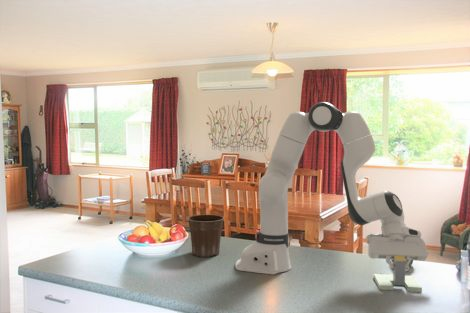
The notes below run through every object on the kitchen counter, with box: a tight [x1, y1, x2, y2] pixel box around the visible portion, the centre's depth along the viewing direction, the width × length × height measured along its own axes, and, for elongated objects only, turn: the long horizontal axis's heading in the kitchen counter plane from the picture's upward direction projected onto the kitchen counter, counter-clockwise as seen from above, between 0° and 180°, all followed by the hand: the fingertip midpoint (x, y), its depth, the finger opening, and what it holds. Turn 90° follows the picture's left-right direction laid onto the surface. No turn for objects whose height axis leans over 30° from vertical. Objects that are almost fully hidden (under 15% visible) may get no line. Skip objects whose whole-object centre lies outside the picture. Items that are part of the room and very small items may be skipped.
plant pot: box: [187, 214, 225, 258], centre depth 191 cm, size 16×16×16 cm
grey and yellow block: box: [392, 256, 406, 284], centre depth 151 cm, size 3×3×9 cm
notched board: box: [373, 273, 423, 293], centre depth 155 cm, size 14×12×2 cm
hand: (399, 269), depth 150 cm, fingers closed on grey and yellow block, 3 cm apart
